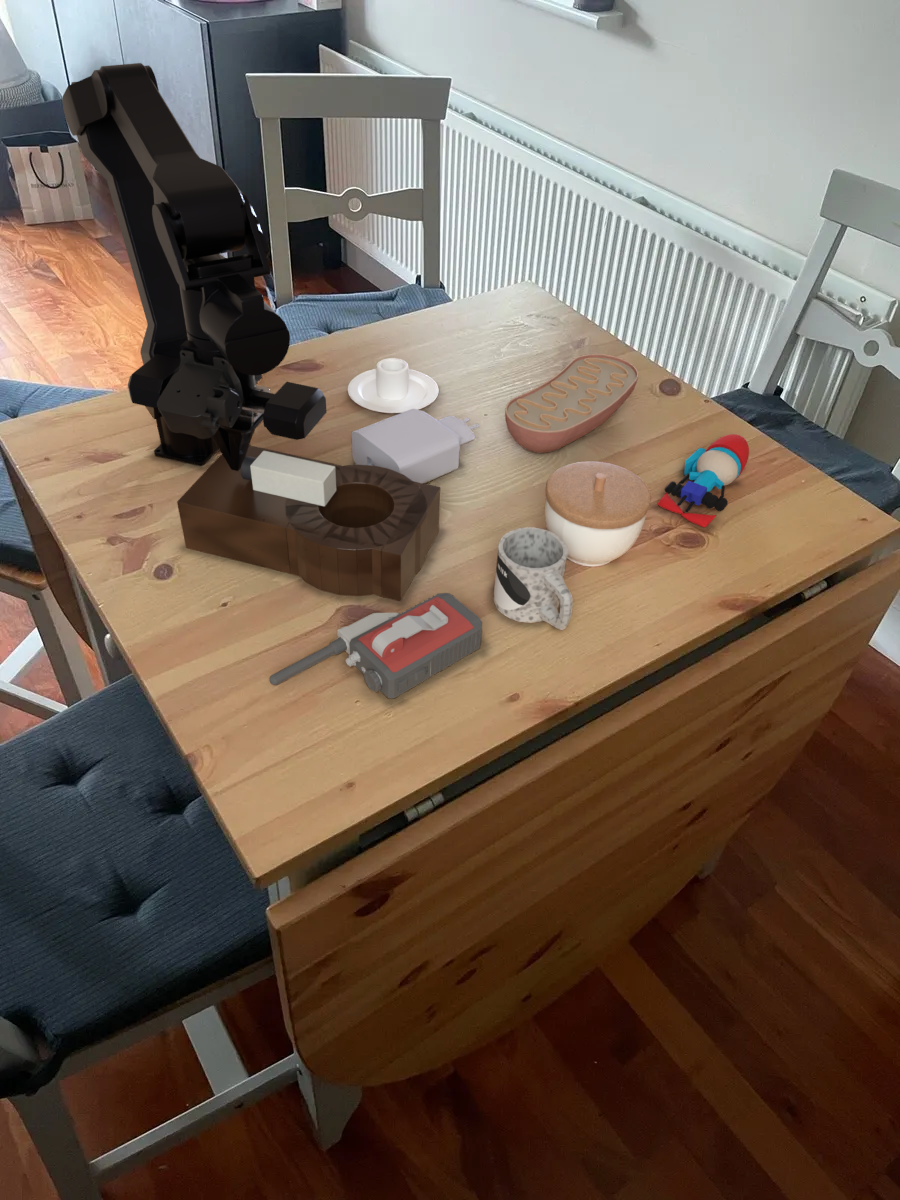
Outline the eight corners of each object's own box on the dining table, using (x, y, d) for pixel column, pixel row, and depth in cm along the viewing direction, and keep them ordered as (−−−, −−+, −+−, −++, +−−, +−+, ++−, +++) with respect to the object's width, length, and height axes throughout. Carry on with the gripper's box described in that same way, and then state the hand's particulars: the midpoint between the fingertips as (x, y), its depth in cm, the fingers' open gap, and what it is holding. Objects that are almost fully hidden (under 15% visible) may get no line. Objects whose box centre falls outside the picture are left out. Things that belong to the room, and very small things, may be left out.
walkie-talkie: (436, 594, 92) (265, 685, 82) (438, 560, 89) (260, 650, 79) (495, 643, 87) (320, 745, 77) (498, 609, 84) (317, 711, 74)
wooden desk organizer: (179, 554, 95) (170, 508, 91) (244, 480, 105) (238, 435, 101) (398, 610, 90) (398, 563, 86) (443, 526, 100) (446, 481, 96)
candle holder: (386, 363, 127) (386, 334, 124) (456, 391, 122) (457, 361, 120) (329, 397, 120) (327, 367, 117) (401, 428, 115) (401, 397, 112)
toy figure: (709, 541, 103) (766, 465, 110) (713, 508, 99) (771, 432, 106) (649, 519, 106) (707, 447, 114) (650, 487, 103) (710, 414, 110)
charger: (497, 455, 111) (399, 499, 104) (449, 423, 116) (352, 462, 109) (500, 421, 108) (399, 463, 101) (450, 390, 113) (350, 427, 106)
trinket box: (657, 550, 99) (675, 478, 92) (596, 595, 93) (611, 522, 87) (580, 506, 104) (592, 435, 98) (518, 546, 98) (526, 474, 92)
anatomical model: (586, 380, 126) (591, 346, 123) (649, 405, 122) (656, 371, 118) (487, 448, 112) (490, 412, 109) (554, 479, 108) (559, 442, 105)
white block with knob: (240, 487, 94) (237, 462, 92) (254, 471, 96) (251, 447, 94) (324, 506, 92) (323, 482, 90) (336, 490, 94) (335, 466, 92)
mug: (481, 590, 93) (485, 538, 88) (535, 571, 95) (542, 520, 91) (535, 652, 86) (542, 600, 82) (592, 630, 89) (602, 579, 85)
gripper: (77, 345, 80) (113, 491, 91) (270, 386, 77) (284, 533, 87) (147, 296, 88) (172, 435, 99) (325, 331, 84) (332, 472, 95)
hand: (236, 468), depth 95 cm, fingers closed
